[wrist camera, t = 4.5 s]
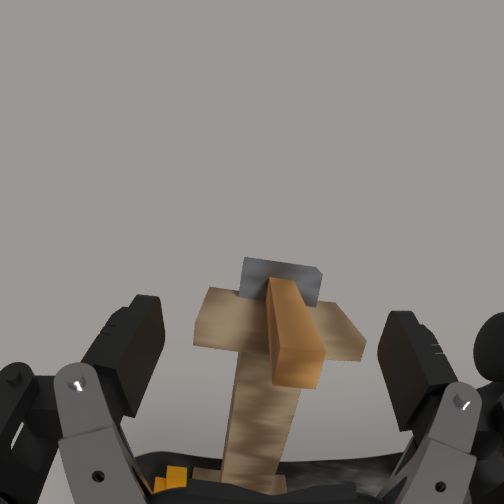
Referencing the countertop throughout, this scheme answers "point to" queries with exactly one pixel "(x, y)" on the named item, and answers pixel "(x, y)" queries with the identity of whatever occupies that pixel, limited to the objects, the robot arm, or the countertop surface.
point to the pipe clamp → (171, 479)
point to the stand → (261, 384)
